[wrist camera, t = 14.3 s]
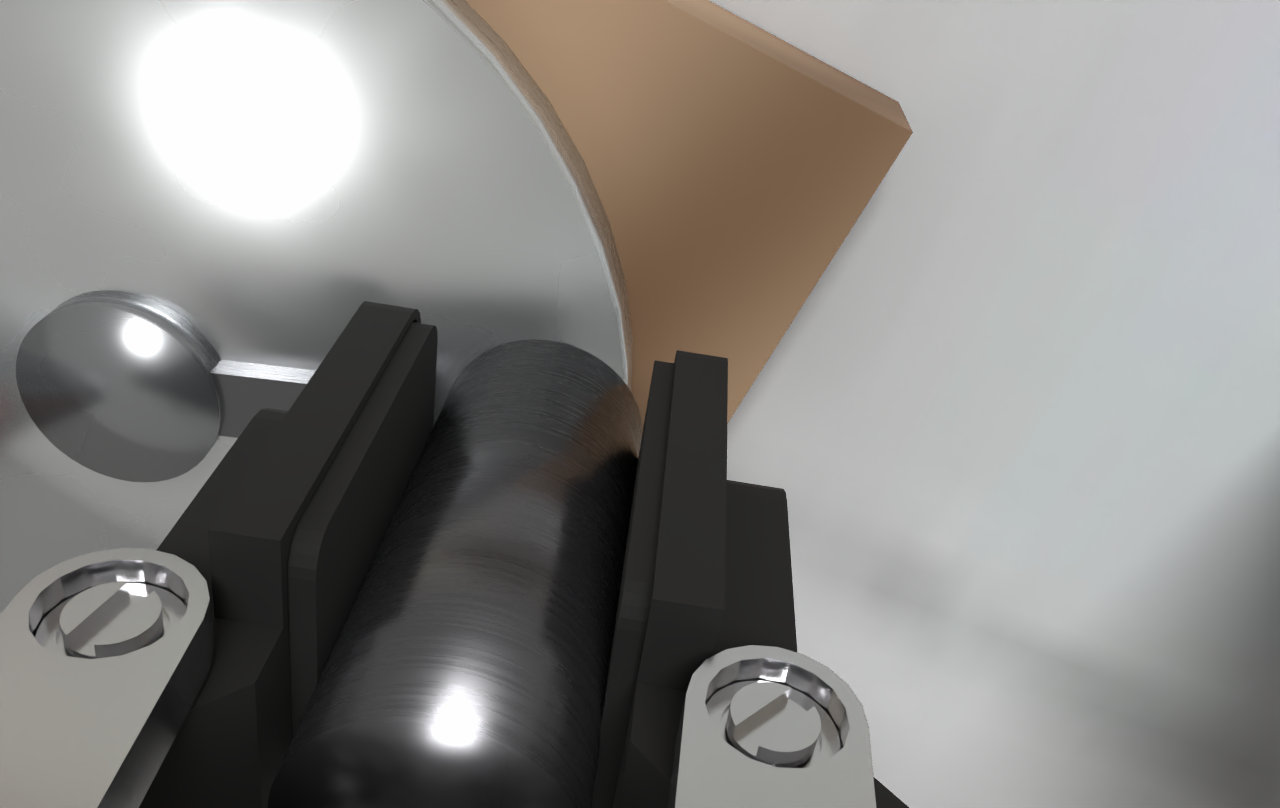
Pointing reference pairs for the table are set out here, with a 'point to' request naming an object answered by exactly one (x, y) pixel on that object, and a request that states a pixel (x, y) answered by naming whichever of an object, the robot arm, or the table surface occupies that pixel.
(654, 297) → the dial board
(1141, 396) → the table surface
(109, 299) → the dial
